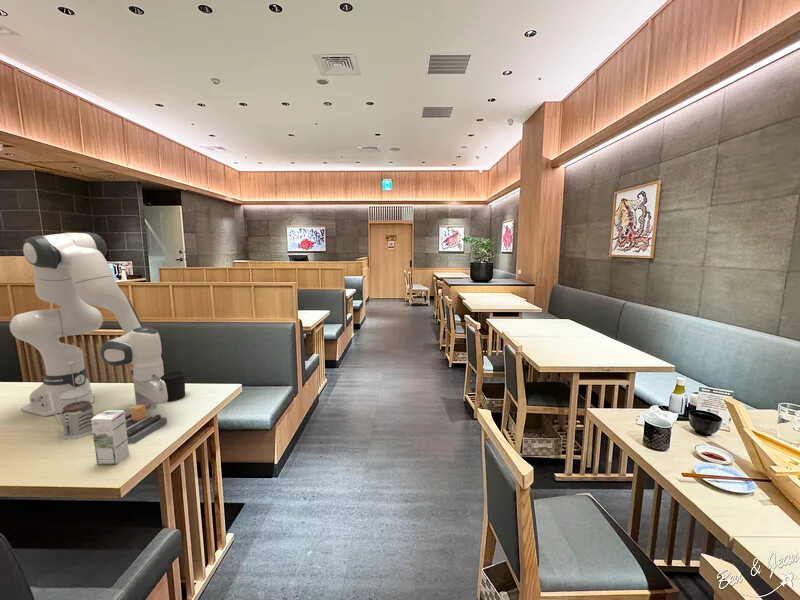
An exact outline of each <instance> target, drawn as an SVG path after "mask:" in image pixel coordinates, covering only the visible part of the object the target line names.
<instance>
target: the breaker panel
mask: <svg viewBox="0 0 800 600" xmlns="http://www.w3.org/2000/svg"><path fill="white" fill-rule="evenodd" d="M167 420H168V419H167V417H164V416H163V417H162V416H161V414H160V413H159V414H156V415H154V416H153V415H147V417H146V418H144V419H142V420H141V421H139V422H137V423H136V422H132V417H131V413H129V414H128V415H125V422H126V431H127V440H128V444H130V445H131V444H132V445H133V444H136V443H137V442H139V441H141V440H142V439H144V438H145V437H147V436H148V435H150V434H151V433H154V432H155V431H156V430H159V428H162V427H163V426H164V425H166V424H168V421H167Z"/></svg>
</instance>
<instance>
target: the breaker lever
mask: <svg viewBox="0 0 800 600" xmlns="http://www.w3.org/2000/svg"><path fill="white" fill-rule="evenodd" d="M130 414H131V417H132V422H136V423H137V422H139V421H141V420H142V419H144V418H146V417H147V416H148V415H147V409H146V405H140V404H138V405H136V404H135V405H133V406H132V407H130Z"/></svg>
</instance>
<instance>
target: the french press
mask: <svg viewBox="0 0 800 600" xmlns="http://www.w3.org/2000/svg"><path fill="white" fill-rule="evenodd" d="M72 365H75V362H73V361H72V362H68V364H67V366H71V370H72ZM72 378H73V371H72ZM73 385H74V379H73ZM91 390H92V389H91ZM91 390H89V389H84V388H76V389H75V387H74V389H72V390H69V391H66V392H64V393H63V394H61V395H60V396H59V397H58V398H59V399H61V400H71V399H75V401H76V398H80V397H83V396H86V395H88V394H89V393H90V392H91ZM90 403H91V402H89V401H80V402H75V403H71V404H68V403H66V404H67V405H66V404H65V405H64V406H63V403H61V404H62V406H63V407H62V409H63V410H64V411H63V412H62V409H61V411H60V413H59V419H60V421H61V423H60V422H59V421H58V420H57V419H58V418H57V414H56V412H57V409H58V407H59V406H60V405H61V404H60V405H59V406H58V407H57V409H56V412H55V414H54V417H55V421H56V423H57V424H59V425H61V426H62V428H63V433H62V434H61V435H60V439H62V440H65V441H66V440H67V441H69V440H77V439H80V438H81V439H82V438H84V437H87V436H90V435H93V431H92V424H91V419H92V418H93V417H94V410H93V409H94V408H93V406H92V403H91V404H90ZM61 412H62V413H61ZM67 413H70V414H67ZM71 413H74V414H71Z"/></svg>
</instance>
